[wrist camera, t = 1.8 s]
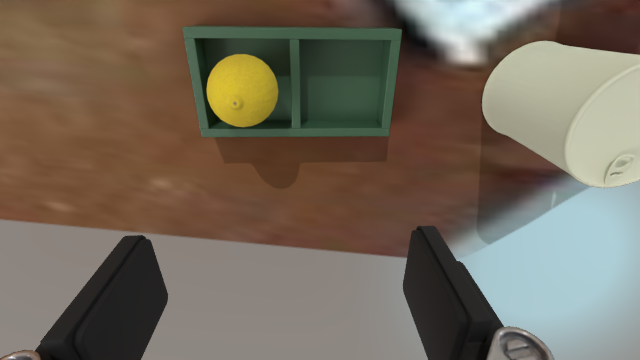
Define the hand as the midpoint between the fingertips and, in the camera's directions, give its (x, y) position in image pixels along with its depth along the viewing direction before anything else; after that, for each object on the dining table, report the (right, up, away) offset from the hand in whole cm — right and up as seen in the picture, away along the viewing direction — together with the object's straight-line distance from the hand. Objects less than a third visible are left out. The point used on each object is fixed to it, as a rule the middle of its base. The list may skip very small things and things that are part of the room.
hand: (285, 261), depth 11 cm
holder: (-1, +12, +18) cm, 22 cm away
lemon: (-5, +12, +18) cm, 22 cm away
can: (+22, +12, +20) cm, 32 cm away
